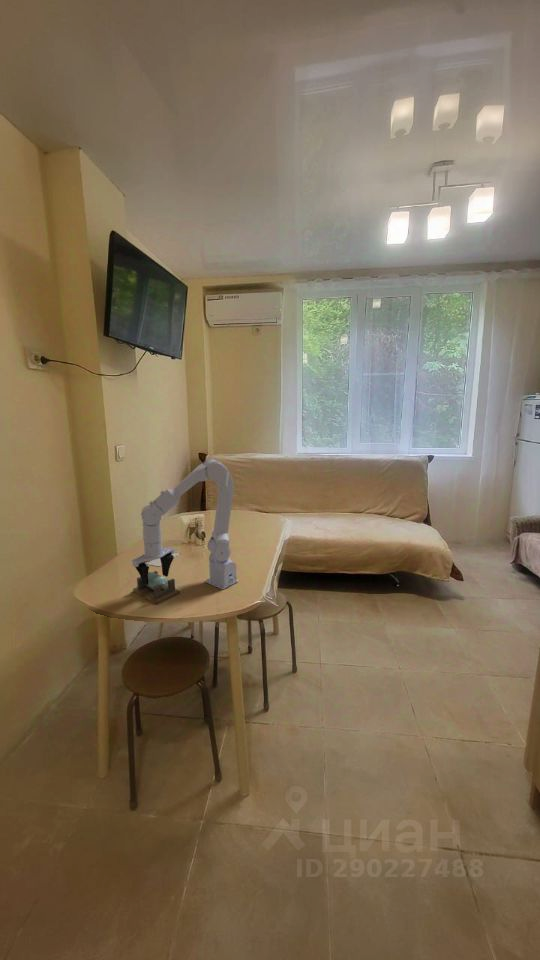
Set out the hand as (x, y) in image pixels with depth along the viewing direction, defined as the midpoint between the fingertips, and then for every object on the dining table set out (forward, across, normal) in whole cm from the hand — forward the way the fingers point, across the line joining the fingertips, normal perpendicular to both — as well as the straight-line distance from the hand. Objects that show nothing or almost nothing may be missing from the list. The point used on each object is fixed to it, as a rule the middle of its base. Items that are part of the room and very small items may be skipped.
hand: (155, 579), depth 122 cm
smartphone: (+5, -19, -23) cm, 30 cm away
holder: (+5, 0, 0) cm, 5 cm away
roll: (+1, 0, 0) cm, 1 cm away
